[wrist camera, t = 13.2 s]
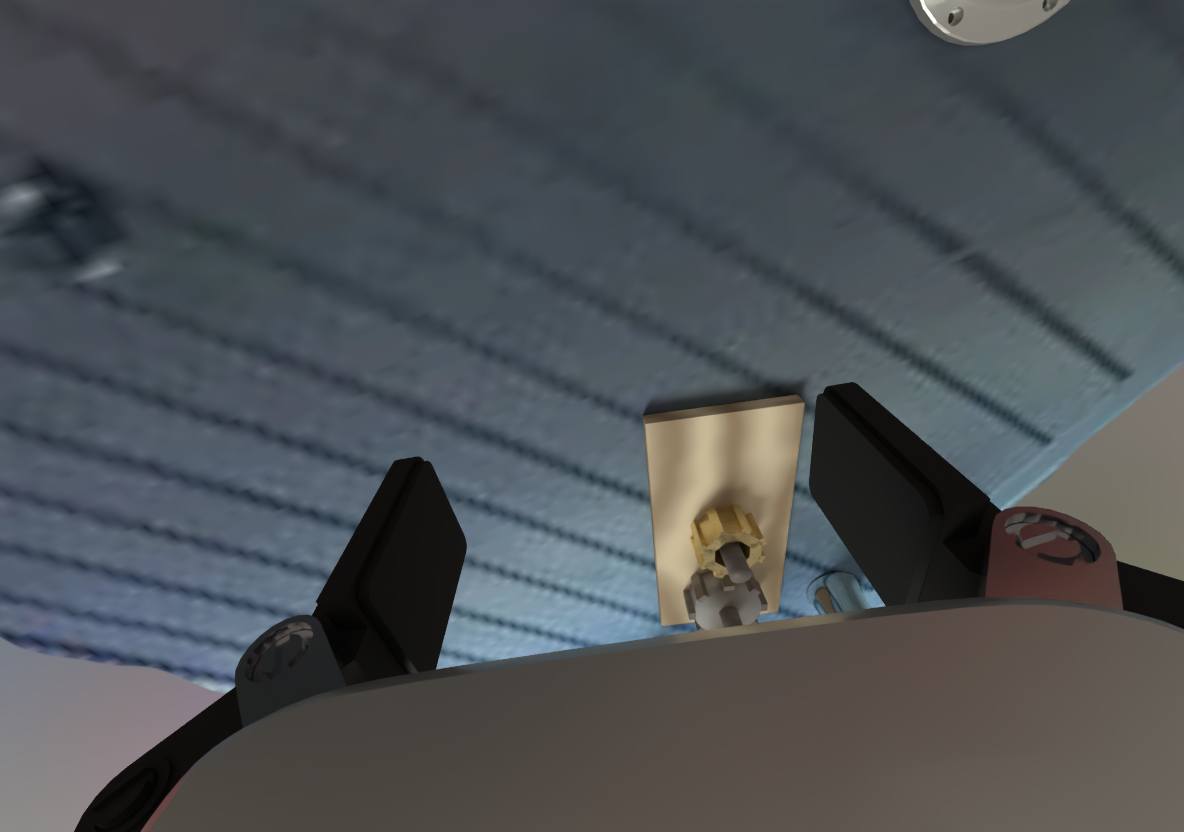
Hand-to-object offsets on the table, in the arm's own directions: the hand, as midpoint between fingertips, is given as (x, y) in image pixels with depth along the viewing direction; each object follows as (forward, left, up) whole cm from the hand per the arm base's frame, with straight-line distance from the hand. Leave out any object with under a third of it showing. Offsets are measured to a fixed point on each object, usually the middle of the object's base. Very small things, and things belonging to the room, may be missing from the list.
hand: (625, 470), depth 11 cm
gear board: (-10, +29, -27) cm, 41 cm away
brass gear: (-10, +29, -25) cm, 39 cm away
